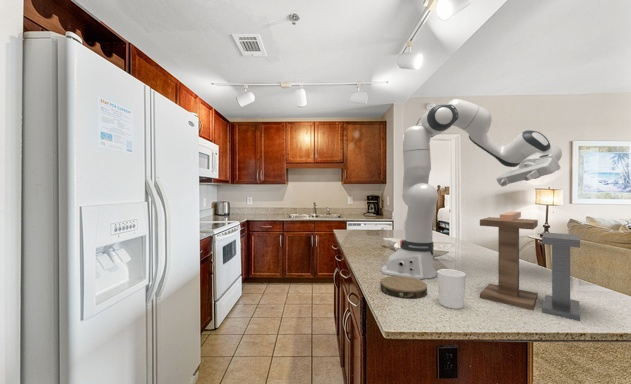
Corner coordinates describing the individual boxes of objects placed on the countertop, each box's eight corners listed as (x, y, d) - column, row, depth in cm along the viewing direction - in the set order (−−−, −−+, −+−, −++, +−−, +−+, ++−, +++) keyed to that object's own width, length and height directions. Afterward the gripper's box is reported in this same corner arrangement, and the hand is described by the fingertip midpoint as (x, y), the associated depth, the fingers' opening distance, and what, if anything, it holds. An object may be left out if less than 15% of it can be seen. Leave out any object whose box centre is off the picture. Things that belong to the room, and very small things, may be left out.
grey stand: (545, 299, 90) (545, 232, 90) (579, 306, 85) (579, 234, 85) (542, 312, 80) (542, 237, 80) (580, 321, 74) (580, 240, 75)
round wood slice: (435, 292, 97) (435, 283, 97) (412, 303, 87) (412, 294, 87) (396, 281, 109) (396, 273, 109) (371, 290, 99) (371, 282, 99)
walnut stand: (489, 287, 101) (489, 217, 101) (537, 297, 92) (537, 219, 92) (479, 298, 91) (479, 219, 91) (533, 310, 81) (533, 222, 81)
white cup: (464, 312, 80) (464, 277, 80) (435, 306, 84) (435, 273, 84) (466, 303, 87) (466, 271, 87) (439, 297, 91) (439, 267, 91)
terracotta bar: (511, 216, 104) (511, 211, 104) (520, 217, 102) (520, 211, 102) (499, 220, 88) (499, 214, 88) (511, 221, 86) (511, 215, 86)
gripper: (504, 167, 120) (485, 181, 115) (557, 152, 101) (537, 167, 96) (511, 180, 120) (493, 194, 115) (566, 167, 101) (547, 182, 96)
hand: (514, 181), depth 105 cm, fingers open, 8 cm apart
